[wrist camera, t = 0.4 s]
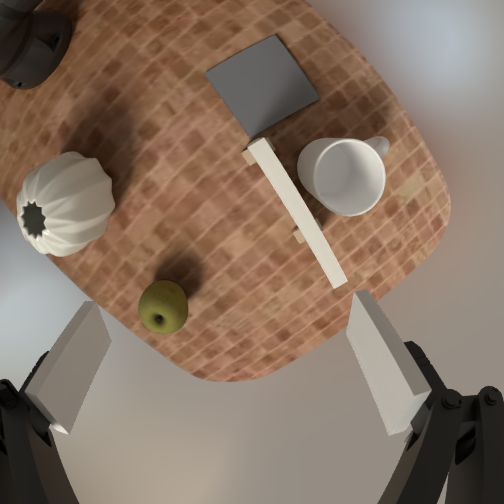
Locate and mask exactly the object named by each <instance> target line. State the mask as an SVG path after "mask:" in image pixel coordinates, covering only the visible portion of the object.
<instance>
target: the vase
mask: <svg viewBox="0 0 504 504" xmlns="http://www.w3.org/2000/svg"><path fill="white" fill-rule="evenodd" d="M114 208H115V202H114V198H113V194H112V179H111V178H110V177H109V176H108V175H107V174H106V173H105V172H104V171H103V169H102V167H101V165H100V163H99V161H98V160H97V159H96V158H85V157H84V156H82V155H81V154H79V153H78V152H74V151H71V152H66V153H63V154H60V155H58V156H56V157H54V158H53V159H51V160H50V161H48V162H45V163H43V164H40V165H39V166H37V167H35V168H34V169H32V170H31V171H30V172H29V173H28V174H27V176H26V177H25V179H24V183H23V187H22V188H21V190H20V191H19V192H18V194H17V211H18V213H17V219H18V223H19V225H20V227H21V230H22V233H23V235H24V237H25V239H26V240H27V241H28V242H30V243H31V244H32V245H33V246H34V247H35V248H36V249H37V250H38V251H39V252H40V253H41V254H48V253H51V254H53V255H55V256H68V255H71V254H73V253H76V252H78V251H79V250H81V249H83V248H84V247H85V246H87V245H88V243H89V242H90V241H92V240H94V239H96V238H98V237H100V236H101V235H103V234H104V233H105V231H106V230H107V227H108V220H109V216H110V214H111V213H112V211H113V210H114Z"/></svg>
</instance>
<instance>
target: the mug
mask: <svg viewBox="0 0 504 504" xmlns="http://www.w3.org/2000/svg"><path fill="white" fill-rule="evenodd" d="M389 147H390V143H389V141H388V140H387V138H385V137H382V136H377V137H372V138H369V139H367V140H365V141H361V140H357V139H350V138H321V139H317V140H314V141H312V142H311V143H309V144H308V145H307V146H306V147H305V148H304V149H303V150H302V152H301V153H300V155H299V158H298V162H297V172H298V177H299V179H300V182H301V183H302V185H303V186H304V188H305V189H306V190H307V191H308V192H309V193H311V194H312V195H313V196H314V197H315V198H316V199H317V200H318V201H320V202H321V203H322V204H323V205H324V206H325V207H326V208H328V209H329V210H330V211H332V212H334V213H336V214H338V215H342V216H356V215H360V214H362V213H365V212H366V211H368V210H370V209H371V208H372V207H373V206H374V205H375V204H376V203H377V202H378V200H379V199H380V197H381V195H382V193H383V191H384V187H385V182H386V173H385V167H384V164H383V161H382V158H383V157H384V156H385V155H386V153H387V152H388V150H389Z"/></svg>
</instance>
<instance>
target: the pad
mask: <svg viewBox="0 0 504 504" xmlns="http://www.w3.org/2000/svg"><path fill="white" fill-rule="evenodd" d="M204 75H205V76H206V77H207V79H208V80H209V81H210V83H211V84H212V85H213V87H214V88H215V89H216V91H217V92H218V94H219V95H220V96H221V98H222V99H223V100H224V102H225V103H226V105H227V106H228V107H229V109H230V110H231V112H232V113H233V115H234V116H235V117H236V119H237V120H238V122H239V123H240V125H241V126H242V128H243V129H244V130H245V132H246V133H247V135H248V136H249V138H252V137H253V136H255V135H257V134H258V133H260V132H262V131H263V130H265V129H267V128H268V127H270V126H272V125H273V124H275V123H277V122H278V121H280V120H282V119H284V118H285V117H287V116H289V115H291V114H293V113H294V112H296V111H298V110H300V109H302V108H303V107H305V106H307V105H309V104H311V103H313V102H315V101H317V100H318V99H320V97H319V95H318V94H317V92H316V91H315V89H314V88H313V86H312V85H311V83H310V82H309V80H308V79H307V77H306V76H305V74H304V73H303V71H302V70H301V69H300V67H299V66H298V64H297V63H296V62H295V60H294V59H293V57H292V56H291V55H290V53H289V52H288V51H287V49H286V48H285V47H284V46H283V44H282V43H281V42H280V40H279V39H278V38H277V37H276V35H273V36H271V37H269V38H267V39H265V40H263V41H261V42H259V43H257V44H255V45H253V46H251V47H249V48H247V49H245V50H243V51H242V52H240V53H238V54H236V55H234V56H233V57H231V58H229V59H227V60H226V61H224V62H222V63H221V64H219V65H217V66H216V67H214V68H212V69H211V70H209V71H207V72H206V73H204Z"/></svg>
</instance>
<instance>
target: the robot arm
mask: <svg viewBox="0 0 504 504" xmlns="http://www.w3.org/2000/svg"><path fill="white" fill-rule="evenodd" d="M42 1H43V0H0V80H2V81H3V82H5V83H6V84H8V85H9V86H11V87H12V88H15V89H25V90H26V89H31V88H34V87H36V86H38V85H39V84H41V83H42V82H43V81H44V80H46V79H47V78H48V77H49V76H50V75H51V73H52V72H53V71H54V70H55V68H56V67H57V66H58V64H59V63H60V61H61V59H62V58H63V56H64V54H65V52H66V49H67V47H68V44H69V41H70V37H71V22H70V19H69V18H68V16H67V15H65V14H64V13H62V12H60V11H57V10H52V9H50V10H34V9H35V8H36V7H37V6H38V5H39V4H40V3H41V2H42ZM346 335H347V337H348V339H349V341H350V343H351V345H352V348H353V350H354V352H355V355H356V357H357V359H358V361H359V364H360V366H361V368H362V371H363V373H364V375H365V378H366V380H367V382H368V385H369V387H370V390H371V392H372V394H373V397H374V399H375V402H376V404H377V406H378V409H379V412H380V414H381V417H382V419H383V422H384V424H385V427H386V430H387V432H388V435H392V434H396V433H399V432H402V431H405V430H406V428H407V427H408V425H409V424H410V423H411V425H412V428H413V430H412V431H411V433H410V434H409V435H408V437H407V438H406V439H405V441H404V442H407V444H406V446H405V449H404V451H403V454H402V456H401V458H400V460H399V463H398V465H397V467H396V469H395V471H394V473H393V475H392V477H391V479H390V481H389V483H388V485H387V487H386V489H385V491H384V493H383V495H382V496H381V498H380V500H379V502H378V504H437V502H438V499H439V497H440V494H441V492H442V489H443V486H444V483H445V481H446V478H447V475H448V484H447V492H446V499H445V504H504V401H503V397H502V394H501V392H500V391H499V390H498V389H497V388H495V387H493V386H486V387H484V388H482V389H481V390H480V392H479V393H478V395H471V396H462V395H460V393H458V392H457V391H455V390H453V389H447V388H446V386H445V385H444V383H443V382H442V380H441V379H440V377H439V375H438V374H437V372H436V371H435V369H434V367H433V366H432V365H431V364H430V361H429V360H428V358H427V357H426V355H425V353H424V352H423V351H422V349H421V348H420V347H419V346H418V345H417V344H415V343H414V342H413V341H409V342H404V343H403V341H402V340H401V338H400V337H399V335H398V334H397V332H396V331H395V329H394V327H393V326H392V324H391V323H390V321H389V320H388V318H387V317H386V315H385V314H384V313H383V311H382V310H381V308H380V307H379V305H378V304H377V302H376V301H375V299H374V298H373V296H372V295H371V294H370V292H369V291H368V290H361V291H354V295H353V301H352V306H351V312H350V317H349V322H348V328H347V333H346ZM110 343H111V338H110V336H109V333H108V331H107V329H106V326H105V324H104V321H103V318H102V316H101V313H100V311H99V308H98V305H97V302H94V301H85V302H84V304H83V305H82V306H81V307H80V309H79V310H78V311H77V313H76V314H75V315H74V317H73V318H72V320H71V321H70V322H69V324H68V325H67V327H66V328H65V329H64V331H63V332H62V334H61V335H60V337H59V338H58V339H57V341H56V342H55V344H54V345H53V347H52V348H51V350H50V351H47V352H46V353H44V354H43V355H42V356H41V357H40V359H39V360H38V362H37V363H36V366H34V368H33V369H32V372H31V373H30V374H29V376H28V377H27V379H26V380H25V382H24V384H23V385H22V387H21V389H20V390H19V392H18V391H17V390H16V388H15V387H14V386H13V384H12V383H11V382H10V381H9V380H7V379H2V380H0V504H79V502H78V500H77V498H76V496H75V494H74V492H73V489H72V487H71V485H70V482H69V480H68V478H67V475H66V473H65V470H64V468H63V465H62V462H61V460H60V457H59V454H58V451H57V448H56V445H55V442H54V438H53V435H52V432H51V430H50V429H49V425H50V423H51V424H52V425H53V427H54V428H55V429H56V430H57V431H60V432H63V433H66V434H70V432H71V430H72V427H73V425H74V422H75V420H76V417H77V415H78V412H79V410H80V408H81V405H82V403H83V401H84V398H85V396H86V394H87V392H88V390H89V387H90V385H91V383H92V381H93V379H94V376H95V374H96V372H97V370H98V368H99V366H100V364H101V362H102V360H103V358H104V356H105V354H106V351H107V350H108V348H109V346H110ZM448 472H449V473H448Z"/></svg>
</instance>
